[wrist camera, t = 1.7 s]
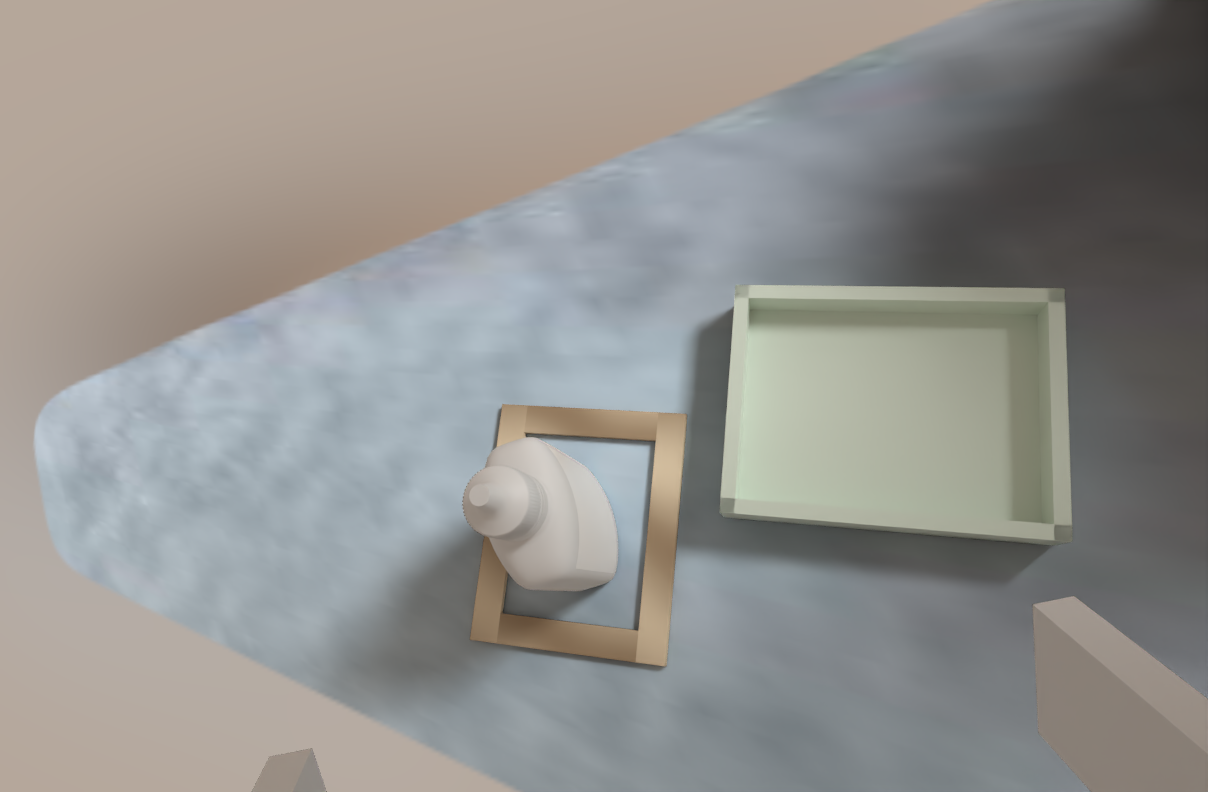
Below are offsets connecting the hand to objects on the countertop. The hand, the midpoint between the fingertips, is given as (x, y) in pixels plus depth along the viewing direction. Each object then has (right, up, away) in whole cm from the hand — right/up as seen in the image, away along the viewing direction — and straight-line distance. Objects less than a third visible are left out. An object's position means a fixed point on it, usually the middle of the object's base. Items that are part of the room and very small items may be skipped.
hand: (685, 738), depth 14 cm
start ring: (-3, 0, +22) cm, 22 cm away
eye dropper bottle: (-3, 0, +22) cm, 22 cm away
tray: (+11, +5, +20) cm, 23 cm away
